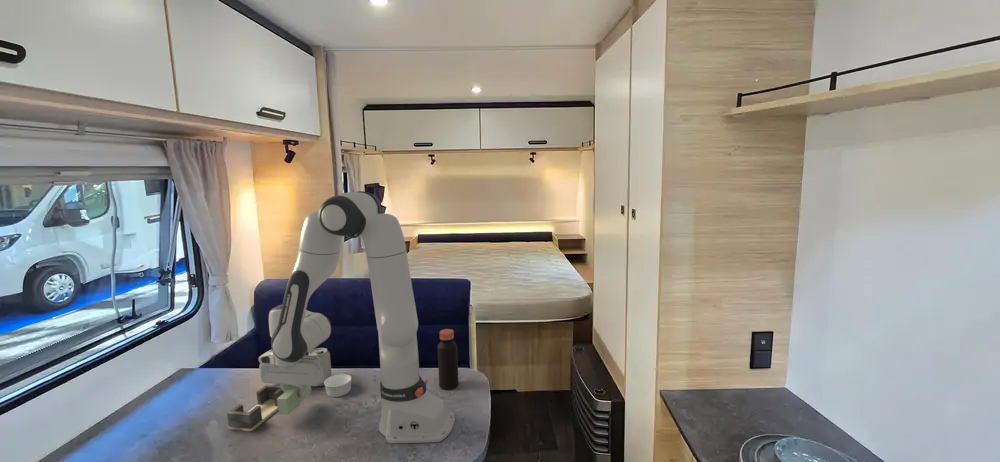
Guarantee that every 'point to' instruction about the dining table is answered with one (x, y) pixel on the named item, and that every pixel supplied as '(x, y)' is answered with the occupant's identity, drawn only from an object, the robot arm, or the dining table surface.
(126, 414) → the dining table surface
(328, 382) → the ramekin
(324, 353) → the can
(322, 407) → the dining table surface
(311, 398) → the dining table surface
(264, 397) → the grey and cream cradle
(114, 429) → the dining table surface
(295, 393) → the slat
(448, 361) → the bottle
